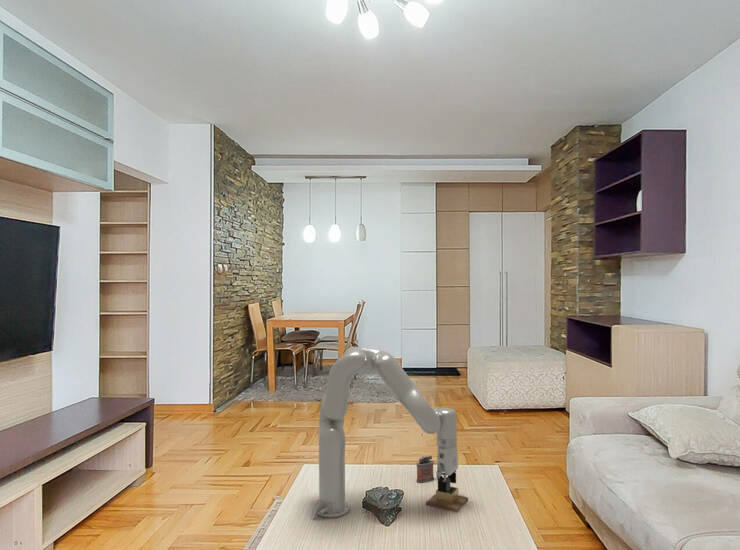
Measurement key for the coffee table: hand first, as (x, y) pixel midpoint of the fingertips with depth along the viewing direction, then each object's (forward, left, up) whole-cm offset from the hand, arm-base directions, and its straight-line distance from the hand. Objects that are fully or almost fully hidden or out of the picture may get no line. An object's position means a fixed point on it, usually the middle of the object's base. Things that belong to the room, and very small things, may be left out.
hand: (447, 487), depth 187 cm
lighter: (+15, +16, -6) cm, 23 cm away
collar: (0, 0, -5) cm, 5 cm away
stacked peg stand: (0, 0, -6) cm, 6 cm away
